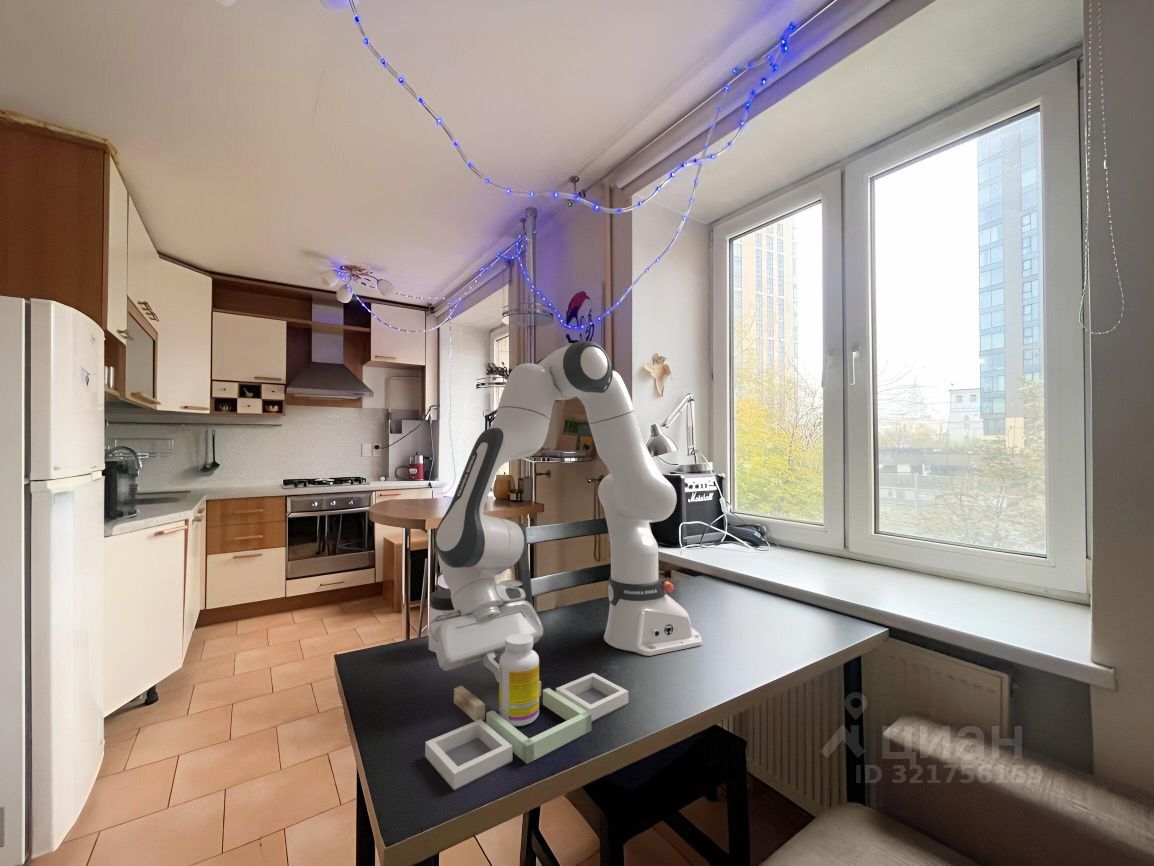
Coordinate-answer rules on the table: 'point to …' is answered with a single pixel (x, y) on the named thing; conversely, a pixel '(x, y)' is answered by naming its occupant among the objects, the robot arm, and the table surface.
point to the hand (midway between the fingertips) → (506, 677)
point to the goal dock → (551, 738)
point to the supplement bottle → (519, 681)
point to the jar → (439, 609)
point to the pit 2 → (594, 695)
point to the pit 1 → (468, 753)
